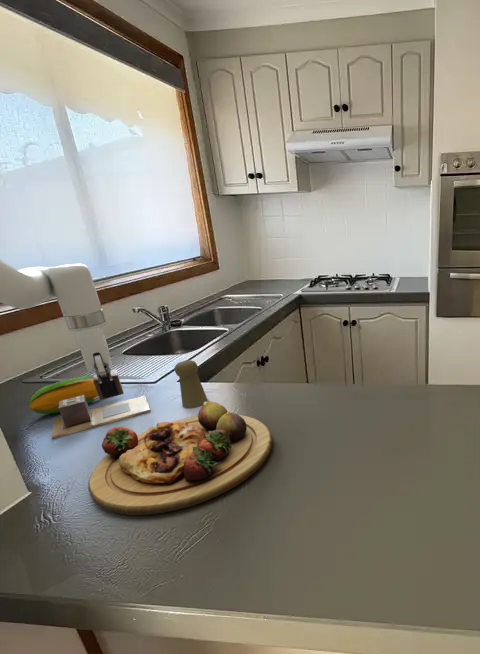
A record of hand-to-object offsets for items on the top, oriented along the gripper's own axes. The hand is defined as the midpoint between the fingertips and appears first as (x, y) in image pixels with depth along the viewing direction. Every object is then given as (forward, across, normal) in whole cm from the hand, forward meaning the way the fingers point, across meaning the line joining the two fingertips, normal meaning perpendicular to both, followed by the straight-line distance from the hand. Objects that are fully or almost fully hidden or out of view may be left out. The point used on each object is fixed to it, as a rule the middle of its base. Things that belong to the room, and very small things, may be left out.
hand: (110, 392), depth 102 cm
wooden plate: (+6, +36, +10) cm, 38 cm away
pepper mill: (+6, +8, +17) cm, 19 cm away
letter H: (+5, 0, -8) cm, 9 cm away
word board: (+6, 0, -3) cm, 6 cm away
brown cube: (0, 0, 0) cm, 0 cm away
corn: (+6, -13, -8) cm, 16 cm away
